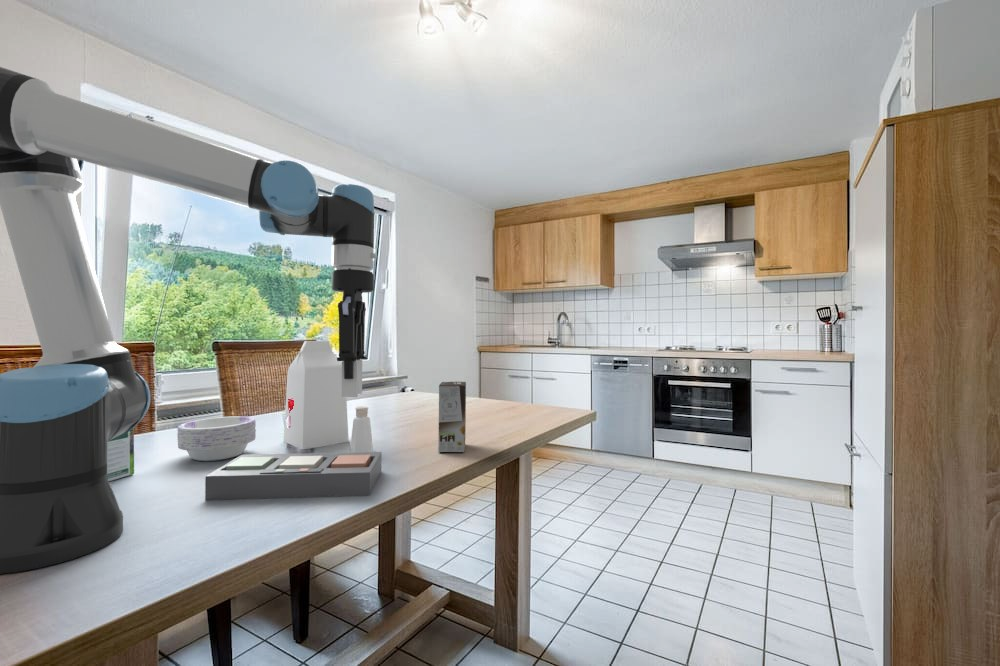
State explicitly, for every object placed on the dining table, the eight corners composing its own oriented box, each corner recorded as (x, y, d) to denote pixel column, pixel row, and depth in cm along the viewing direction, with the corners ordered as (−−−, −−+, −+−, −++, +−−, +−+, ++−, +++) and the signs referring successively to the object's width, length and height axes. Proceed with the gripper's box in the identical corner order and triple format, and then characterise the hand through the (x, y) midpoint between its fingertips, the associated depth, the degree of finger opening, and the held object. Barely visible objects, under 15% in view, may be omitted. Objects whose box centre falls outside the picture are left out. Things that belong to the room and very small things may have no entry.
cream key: (313, 476, 85) (314, 464, 85) (279, 477, 84) (279, 465, 84) (322, 467, 90) (322, 455, 90) (290, 467, 90) (290, 456, 90)
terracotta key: (365, 475, 85) (365, 463, 85) (331, 476, 85) (331, 464, 85) (370, 466, 91) (370, 454, 91) (338, 466, 91) (339, 455, 91)
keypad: (369, 495, 82) (369, 470, 82) (205, 500, 79) (205, 474, 79) (381, 471, 96) (381, 450, 96) (241, 474, 93) (242, 453, 93)
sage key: (261, 477, 84) (261, 465, 84) (226, 478, 83) (226, 466, 83) (274, 468, 90) (274, 456, 90) (241, 468, 89) (241, 457, 89)
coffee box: (465, 453, 111) (465, 385, 111) (437, 453, 110) (438, 385, 110) (465, 444, 120) (466, 381, 120) (440, 444, 119) (440, 381, 119)
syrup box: (105, 483, 87) (105, 405, 87) (79, 481, 88) (80, 404, 88) (134, 474, 92) (135, 401, 92) (110, 472, 94) (110, 399, 93)
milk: (302, 449, 113) (303, 341, 113) (283, 441, 121) (284, 340, 121) (348, 441, 122) (349, 341, 122) (328, 434, 130) (328, 340, 130)
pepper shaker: (344, 456, 107) (344, 408, 107) (358, 450, 112) (358, 404, 112) (365, 458, 105) (365, 409, 105) (378, 452, 111) (378, 405, 111)
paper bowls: (171, 455, 107) (172, 420, 107) (245, 444, 117) (245, 413, 117) (183, 470, 96) (184, 431, 96) (264, 457, 106) (264, 422, 106)
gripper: (365, 264, 80) (364, 401, 80) (380, 276, 97) (379, 389, 97) (320, 263, 79) (319, 401, 79) (342, 275, 96) (341, 389, 96)
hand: (352, 394), depth 88 cm, fingers open, 4 cm apart
